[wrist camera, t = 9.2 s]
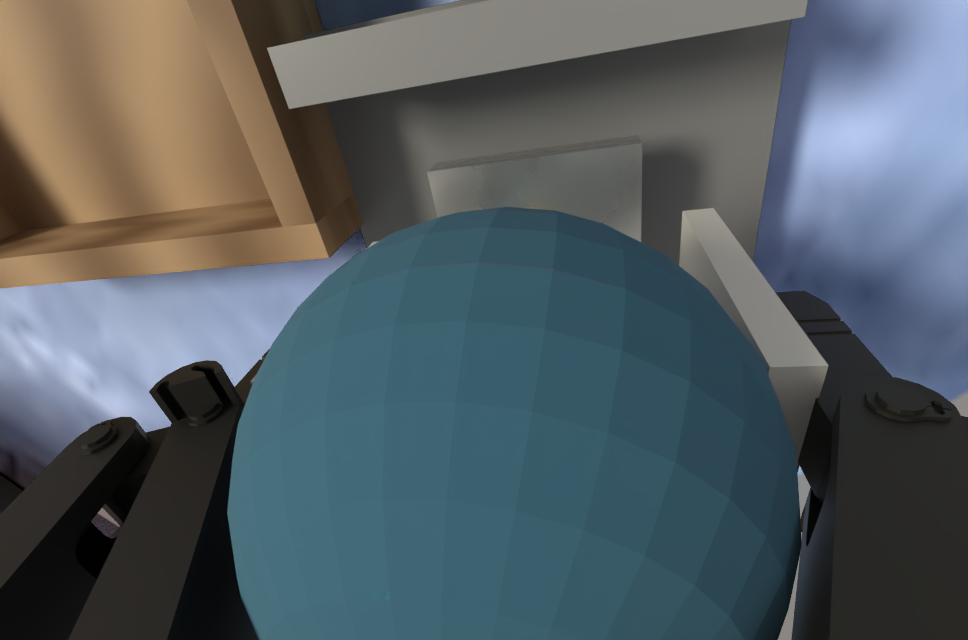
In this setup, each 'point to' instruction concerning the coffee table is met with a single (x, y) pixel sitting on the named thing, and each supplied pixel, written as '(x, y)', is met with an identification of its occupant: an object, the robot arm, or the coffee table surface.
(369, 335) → the light bulb
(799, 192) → the coffee table surface
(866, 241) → the coffee table surface
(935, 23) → the coffee table surface
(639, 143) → the checker plate
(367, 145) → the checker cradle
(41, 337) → the coffee table surface
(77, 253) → the tray
